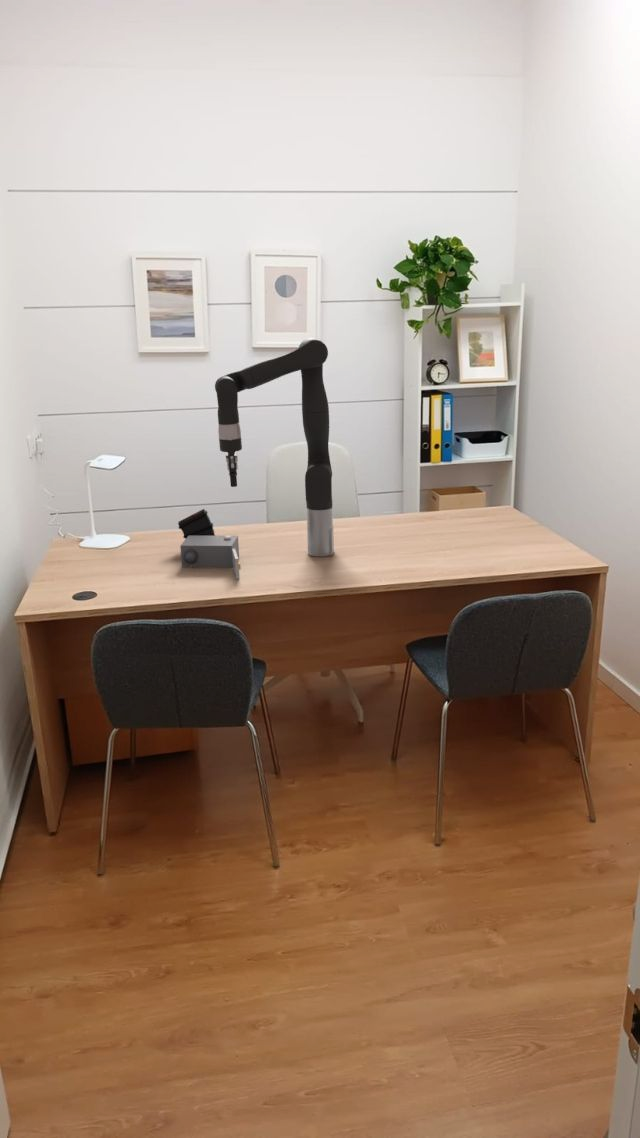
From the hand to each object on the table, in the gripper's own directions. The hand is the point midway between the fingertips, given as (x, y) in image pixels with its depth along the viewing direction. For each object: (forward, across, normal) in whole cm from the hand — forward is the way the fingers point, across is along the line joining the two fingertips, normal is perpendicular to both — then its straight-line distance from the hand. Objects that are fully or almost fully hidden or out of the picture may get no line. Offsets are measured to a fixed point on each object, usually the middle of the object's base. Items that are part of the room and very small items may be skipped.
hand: (234, 486), depth 296 cm
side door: (+27, +15, -2) cm, 30 cm away
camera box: (+27, 0, -10) cm, 28 cm away
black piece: (+27, -16, -15) cm, 34 cm away
